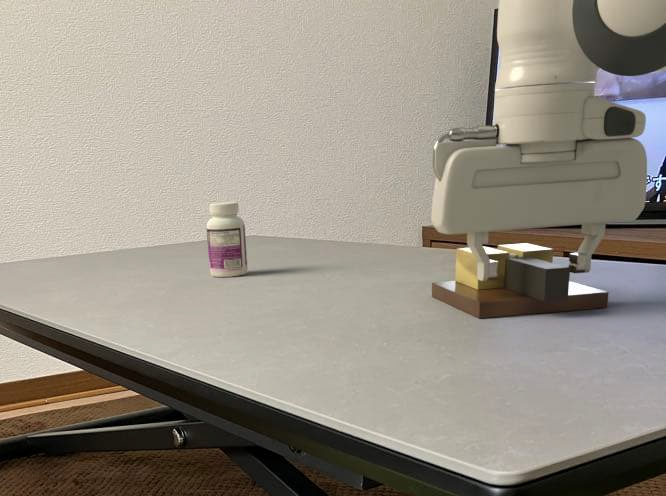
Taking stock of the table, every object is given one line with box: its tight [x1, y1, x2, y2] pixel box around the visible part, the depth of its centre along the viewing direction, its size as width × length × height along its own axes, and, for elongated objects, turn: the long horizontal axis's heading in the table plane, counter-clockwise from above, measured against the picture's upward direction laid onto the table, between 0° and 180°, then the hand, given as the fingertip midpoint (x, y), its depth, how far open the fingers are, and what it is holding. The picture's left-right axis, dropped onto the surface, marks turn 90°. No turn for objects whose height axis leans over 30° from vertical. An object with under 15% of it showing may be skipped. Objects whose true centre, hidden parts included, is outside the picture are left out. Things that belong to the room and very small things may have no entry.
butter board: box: [431, 242, 610, 319], centre depth 93 cm, size 13×15×5 cm
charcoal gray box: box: [504, 253, 571, 302], centre depth 92 cm, size 18×2×3 cm, turn 7°
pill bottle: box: [206, 201, 249, 278], centre depth 126 cm, size 5×5×10 cm
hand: (533, 276), depth 89 cm, fingers open, 8 cm apart
